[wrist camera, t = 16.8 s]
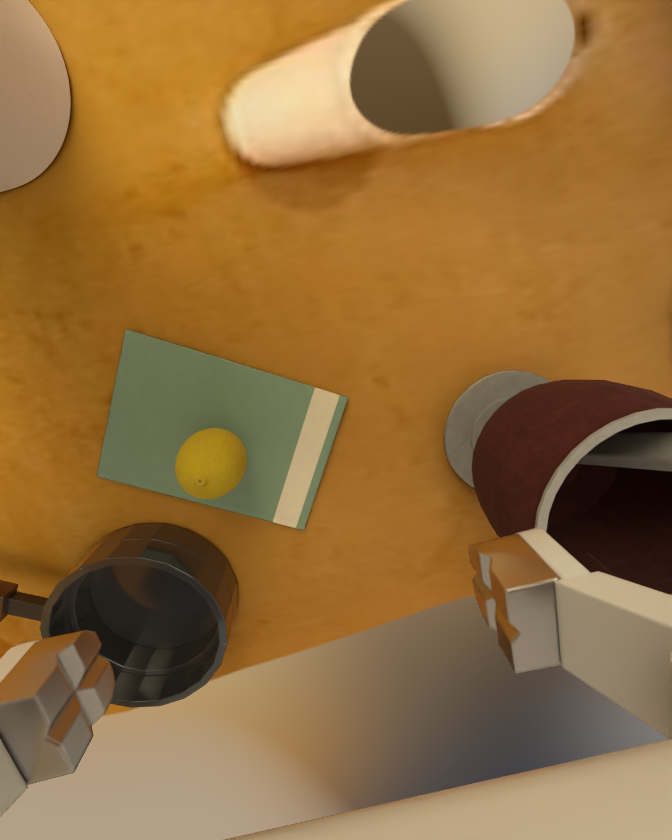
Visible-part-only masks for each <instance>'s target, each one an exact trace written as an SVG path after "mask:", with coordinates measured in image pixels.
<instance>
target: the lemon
mask: <svg viewBox="0 0 672 840" xmlns="http://www.w3.org/2000/svg"><path fill="white" fill-rule="evenodd" d="M246 466H247V455H246V450H245V447H244V446H243V444H242V442H241V441H240V439H239V438H238V437H237V436H236V435H234V434H233V433H231V432H230V431H227V430H224V429H220V428H209V429H204V430H201V431H199V432H196V433H195V434H193V435H192V436H191V437H189V438H188V439H187V440H186V441H185V443H184V444H183V445H182V446H181V448H180V450H179V452H178V455H177V457H176V463H175V472H176V478H177V480H178V482H179V484H180V486H181V487H182V488H183V489H184V490H185V491H186V492H187V493H188V494H190V495H192V496H194V497H196V498H200V499H215V498H219V497H221V496H223V495H225V494H227V493H229V492H230V491H231V490H233V489H234V488H235V487H236V486H237V485H238V484H239V482H240V481H241V479H242V478H243V476H244V473H245V470H246Z"/></svg>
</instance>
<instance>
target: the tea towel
mask: <svg viewBox="0 0 672 840" xmlns="http://www.w3.org/2000/svg"><path fill="white" fill-rule="evenodd" d="M347 400H348V397H346V396H342V395H339V394H336V393H333V392H329V391H326V390H323V389H320V388H316V387H313V386H310V385H307V384H303V383H300V382H297V381H294V380H291V379H287V378H284V377H281V376H278V375H274V374H271V373H268V372H265V371H261V370H258V369H255V368H252V367H248V366H245V365H242V364H239V363H236V362H232V361H229V360H226V359H223V358H219V357H216V356H213V355H210V354H206V353H203V352H200V351H197V350H193V349H190V348H187V347H184V346H180V345H177V344H174V343H171V342H168V341H164V340H161V339H158V338H155V337H151V336H148V335H145V334H142V333H138V332H135V331H132V330H129V329H127V330H125V335H124V340H123V345H122V350H121V355H120V361H119V366H118V371H117V376H116V381H115V386H114V391H113V396H112V401H111V406H110V411H109V416H108V422H107V427H106V432H105V437H104V442H103V447H102V452H101V457H100V462H99V467H98V472H97V477H100V478H104V479H108V480H112V481H116V482H120V483H124V484H128V485H131V486H135V487H139V488H143V489H147V490H151V491H155V492H158V493H162V494H166V495H170V496H174V497H178V498H182V499H186V500H189V501H193V502H197V503H201V504H205V505H209V506H213V507H216V508H220V509H224V510H228V511H232V512H236V513H240V514H243V515H247V516H251V517H255V518H259V519H263V520H267V521H271V522H274V523H278V524H281V525H285V526H289V527H293V528H298V529H301V530H304V528H305V525H306V522H307V519H308V516H309V513H310V510H311V507H312V504H313V501H314V498H315V495H316V492H317V489H318V486H319V483H320V480H321V477H322V474H323V471H324V468H325V465H326V462H327V459H328V456H329V453H330V450H331V447H332V444H333V441H334V438H335V435H336V432H337V429H338V426H339V423H340V420H341V417H342V414H343V411H344V409H345V406H346V403H347ZM209 428H220V429H224V430H227V431H230V432H231V433H233V434H234V435H236V436H237V437H238V438H239V439H240V441H241V442H242V444H243V446H244V447H245V450H246V455H247V466H246V470H245V473H244V476H243V478H242V479H241V481H240V482H239V484H238V485H237V486H236V487H235V488H234V489H233V490H231V491H230V492H229V493H227V494H225V495H223V496H221V497H219V498H215V499H200V498H196V497H194V496H192V495H190V494H188V493H187V492H186V491H185V490H184V489H183V488H182V487H181V486H180V484H179V482H178V480H177V478H176V472H175V463H176V457H177V455H178V452H179V450H180V448H181V446H182V445H183V444H184V443H185V441H186V440H187V439H188V438H189V437H191V436H192V435H193V434H195V433H196V432H199V431H201V430H204V429H209Z"/></svg>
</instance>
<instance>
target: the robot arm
mask: <svg viewBox="0 0 672 840" xmlns="http://www.w3.org/2000/svg"><path fill="white" fill-rule="evenodd" d="M70 106H71V99H70V86H69V80H68V75H67V70H66V67H65V63H64V60H63V57H62V54H61V52H60V49H59V47H58V44H57V42H56V40H55V38H54V36H53V34H52V33H51V31H50V29H49V27H48V26H47V24H46V23H45V21H44V20H43V18H42V17H41V15H40V14H39V13H38V11H37V10H36V9H35V8H34V6H33V5H32V4H31V3H30V2H29V0H0V192H3V191H7V190H10V189H13V188H17V187H19V186H22V185H24V184H26V183H28V182H30V181H31V180H33V179H35V178H36V177H37V176H39V175H40V174H41V173H42V172H43V171H44V170H45V169H46V168H47V167H48V166H49V165H50V164H51V163H52V161H53V160H54V159H55V157H56V155H57V154H58V152H59V150H60V148H61V146H62V144H63V142H64V139H65V136H66V133H67V129H68V124H69V119H70ZM469 558H470V563H471V564H472V566H473V568H474V569H475V571H476V572H477V573H476V575H475V577H474V578H473V585H474V591H475V595H476V599H477V602H478V605H479V608H480V610H481V613H482V615H483V617H484V619H485V621H486V623H487V625H488V626H489V627H490V628H492V629H493V630H495V631H497V635H498V642H499V646H500V647H501V649H502V651H503V653H504V654H505V656H506V658H507V659H508V661H509V663H510V665H511V666H512V668H513V670H514V671H515V673H520V672H526V671H531V670H536V669H541V668H546V667H552V666H557V665H561V666H562V668H564V669H565V670H567V671H568V672H570V673H571V674H573V675H574V676H576V677H577V678H579V679H580V680H582V681H583V682H585V683H586V684H588V685H589V686H590V687H592V688H594V689H595V690H597V691H598V692H599V693H601V694H602V695H604V696H606V697H607V698H609V699H610V700H612V701H613V702H615V703H616V704H617V705H619V706H620V707H622V708H623V709H625V710H626V711H628V712H630V713H631V714H632V715H634V716H635V717H637V718H638V719H640V720H641V721H643V722H644V723H646V724H647V725H649V726H650V727H652V728H653V729H655V730H656V731H658V732H659V733H661V734H662V735H664V736H665V737H667V738H668V739H669V740H664V741H660V742H656V743H651V744H647V745H642V746H638V747H633V748H629V749H625V750H620V751H615V752H611V753H606V754H602V755H597V756H593V757H589V758H584V759H580V760H575V761H571V762H567V763H562V764H558V765H553V766H549V767H544V768H540V769H535V770H531V771H526V772H522V773H518V774H513V775H509V776H504V777H500V778H495V779H491V780H487V781H482V782H478V783H473V784H469V785H464V786H460V787H456V788H451V789H447V790H442V791H438V792H433V793H429V794H425V795H420V796H416V797H411V798H407V799H402V800H398V801H393V802H389V803H385V804H380V805H376V806H371V807H367V808H362V809H358V810H354V811H349V812H345V813H340V814H336V815H331V816H327V817H323V818H318V819H314V820H310V821H305V822H301V823H296V824H292V825H287V826H283V827H278V828H274V829H270V830H266V831H261V832H256V833H252V834H248V835H243V836H238V837H234V838H230V839H225V840H672V595H669V594H666V593H663V592H660V591H657V590H654V589H651V588H648V587H645V586H642V585H639V584H636V583H633V582H630V581H626V580H623V579H620V578H617V577H614V576H611V575H608V574H605V573H602V572H599V571H597V572H592V573H590V572H589V571H588V570H587V569H586V568H585V567H584V566H583V565H582V564H581V563H579V562H578V561H577V560H576V559H575V558H574V557H573V556H572V555H571V554H569V553H568V552H567V551H566V550H565V549H564V548H563V547H562V546H561V545H560V544H558V543H557V542H556V541H555V540H554V539H553V538H552V537H551V536H550V535H548V534H547V533H546V532H545V531H544V530H543V529H540V528H534V529H530V530H526V531H522V532H519V533H515V534H513V535H509V536H505V537H501V538H496V539H492V540H488V541H484V542H480V543H475V544H471V545H469ZM101 645H102V644H101V642H100V640H99V638H98V636H97V634H96V632H93V631H90V630H84V631H79V632H74V633H69V634H64V635H59V636H54V637H49V638H44V639H42V640H35V641H31V642H26V643H22V644H19V645H16V646H14V647H12V648H10V649H9V650H8V651H7V652H6V653H5V655H4V656H3V657H2V658H1V659H0V817H1V816H2V815H3V814H4V813H5V811H7V810H8V809H9V807H10V806H11V805H12V804H13V803H14V802H15V801H16V800H17V799H18V798H19V797H20V795H21V794H22V793H23V792H24V791H25V790H26V789H27V788H28V786H27V785H29V784H33V783H36V782H40V781H44V780H48V779H52V778H56V777H59V776H63V775H67V774H71V773H74V772H75V769H76V768H77V766H78V764H79V762H80V760H81V758H82V757H83V755H84V753H85V751H86V749H87V747H88V745H89V743H90V741H91V739H92V737H93V731H92V725H93V724H94V723H95V722H96V721H97V720H98V719H100V718H101V717H102V716H103V715H104V714H105V712H106V710H107V708H108V706H109V704H110V702H111V700H112V697H113V691H114V685H115V679H114V672H113V669H112V667H111V664H110V662H109V661H108V660H106V659H105V658H103V657H102V656H100V655H98V654H99V651H100V648H101Z"/></svg>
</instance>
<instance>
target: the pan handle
mask: <svg viewBox="0 0 672 840" xmlns="http://www.w3.org/2000/svg"><path fill="white" fill-rule="evenodd" d="M17 588H18V584H15V583H11V582H6V581H1V580H0V622H1V621H2V620H3V619H4V618H5V617H6V616H7V615H8V614H9V615H14V616H19V617H23V618H28V619H33V620H38V621H41V620H42V614H43V609H44V605H45V603H46V601H47V599H48V598H44V597H40V596H35V595H31V594H26V593H21V592H17Z"/></svg>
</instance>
